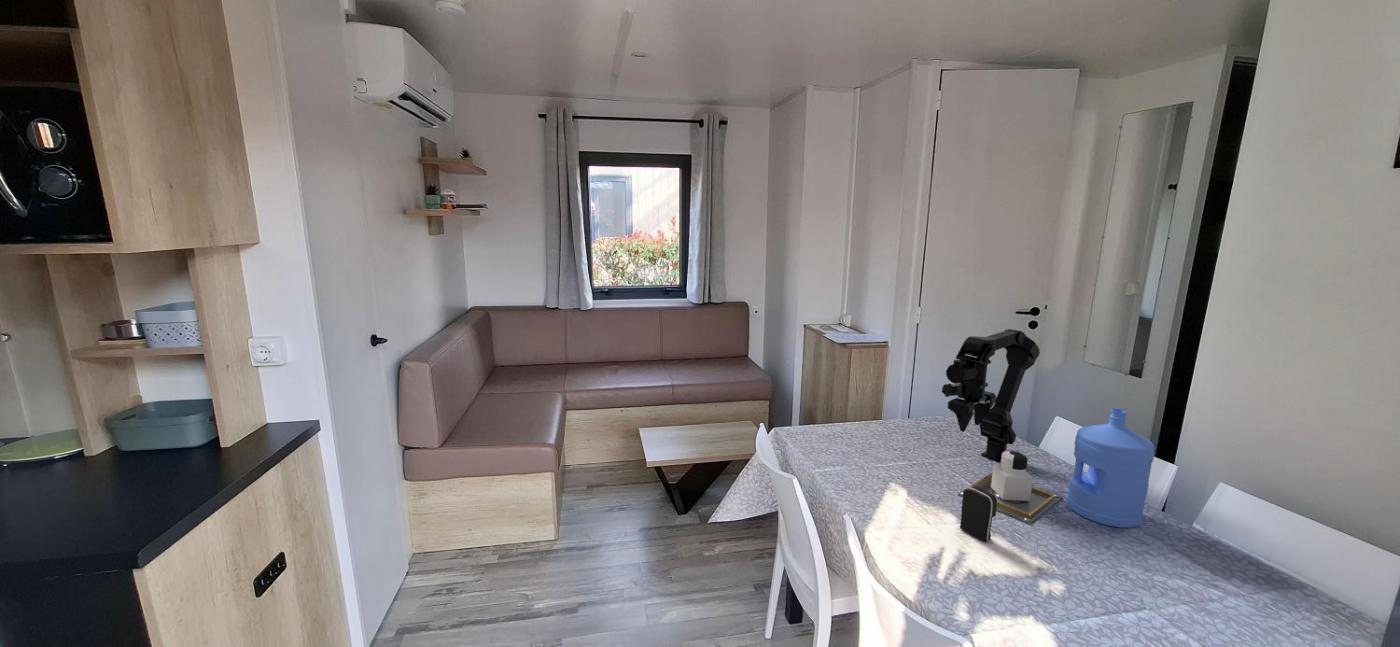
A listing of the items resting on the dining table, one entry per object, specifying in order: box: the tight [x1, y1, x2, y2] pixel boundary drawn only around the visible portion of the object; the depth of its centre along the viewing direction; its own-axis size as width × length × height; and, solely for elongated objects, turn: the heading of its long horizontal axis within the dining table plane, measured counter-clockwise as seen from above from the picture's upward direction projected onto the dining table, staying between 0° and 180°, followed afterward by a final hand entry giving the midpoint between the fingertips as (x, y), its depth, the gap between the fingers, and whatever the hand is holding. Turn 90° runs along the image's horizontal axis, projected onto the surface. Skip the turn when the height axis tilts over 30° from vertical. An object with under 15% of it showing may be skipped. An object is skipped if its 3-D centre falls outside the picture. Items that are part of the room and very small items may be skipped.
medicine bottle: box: [991, 450, 1034, 501], centre depth 139 cm, size 7×7×12 cm
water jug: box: [1066, 408, 1155, 529], centre depth 130 cm, size 16×16×28 cm
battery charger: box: [959, 486, 997, 543], centre depth 121 cm, size 7×4×11 cm, turn 28°
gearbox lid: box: [957, 472, 1063, 525], centre depth 140 cm, size 22×18×1 cm
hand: (969, 427), depth 155 cm, fingers open, 9 cm apart
